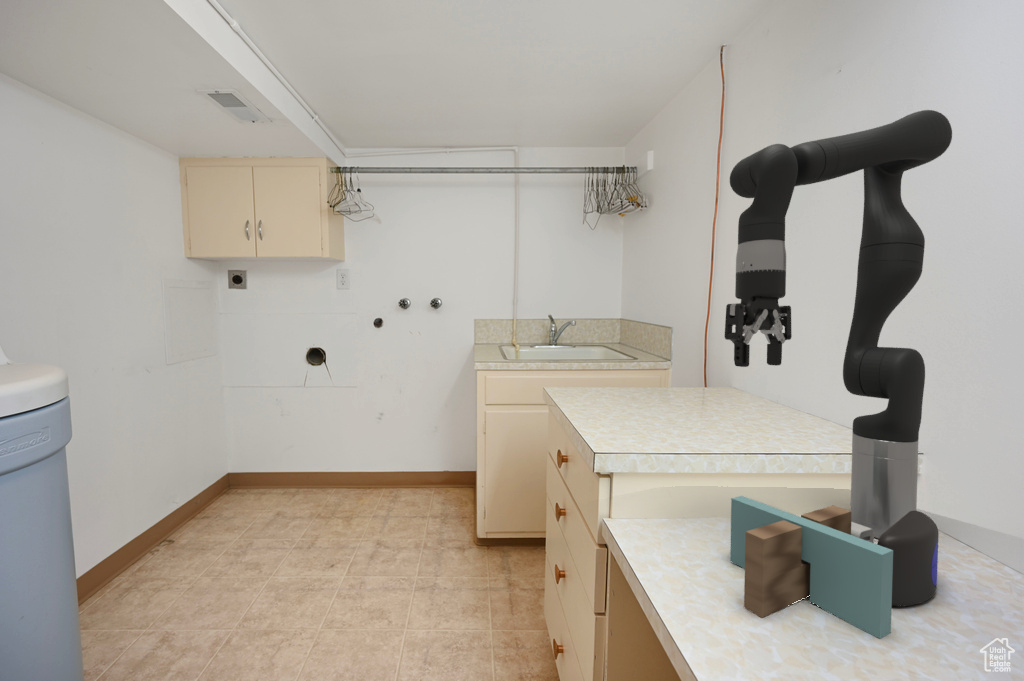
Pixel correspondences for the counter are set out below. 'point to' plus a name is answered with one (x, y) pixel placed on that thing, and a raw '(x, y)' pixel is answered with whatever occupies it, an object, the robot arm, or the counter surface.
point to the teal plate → (829, 565)
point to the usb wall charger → (862, 532)
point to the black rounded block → (912, 558)
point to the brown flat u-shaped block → (782, 561)
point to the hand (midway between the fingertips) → (758, 365)
